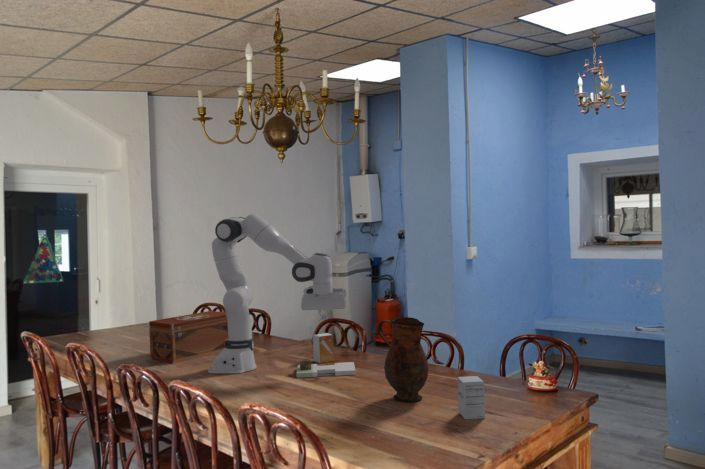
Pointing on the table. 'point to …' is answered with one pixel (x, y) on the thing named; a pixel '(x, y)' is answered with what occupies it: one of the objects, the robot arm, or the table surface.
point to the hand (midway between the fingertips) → (324, 319)
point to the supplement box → (471, 397)
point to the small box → (323, 347)
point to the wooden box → (188, 336)
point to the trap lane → (328, 370)
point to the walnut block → (305, 364)
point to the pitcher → (405, 358)
